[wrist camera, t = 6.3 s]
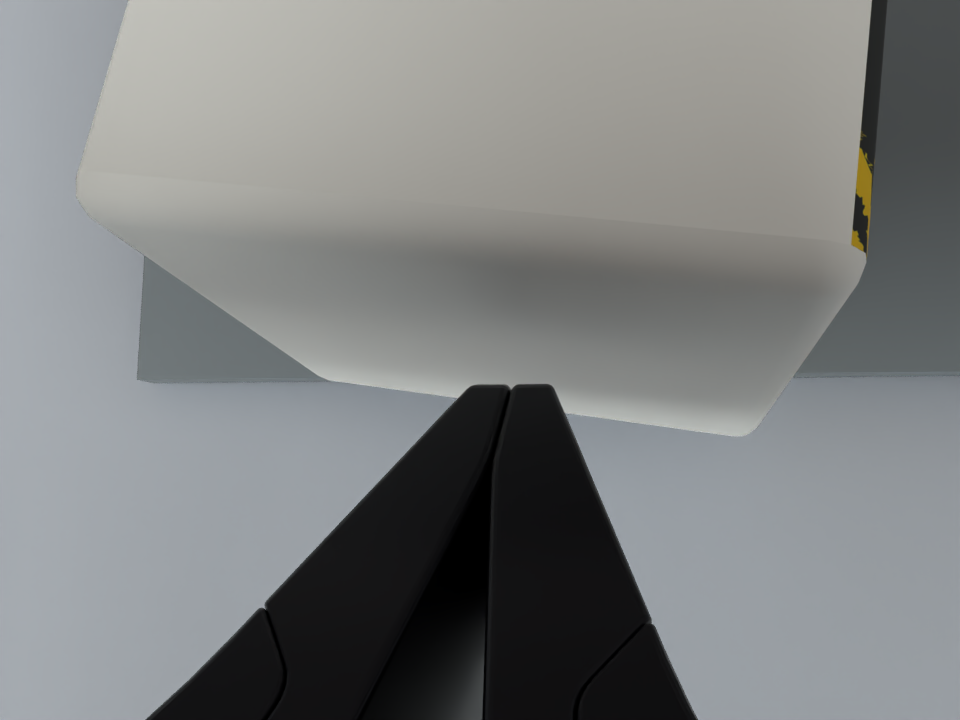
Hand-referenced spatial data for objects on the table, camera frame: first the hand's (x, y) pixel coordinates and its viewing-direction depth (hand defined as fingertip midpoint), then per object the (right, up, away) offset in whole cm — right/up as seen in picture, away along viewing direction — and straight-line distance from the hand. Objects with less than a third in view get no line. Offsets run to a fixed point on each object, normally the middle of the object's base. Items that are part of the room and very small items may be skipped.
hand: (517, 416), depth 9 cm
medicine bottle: (0, 0, +2) cm, 2 cm away
